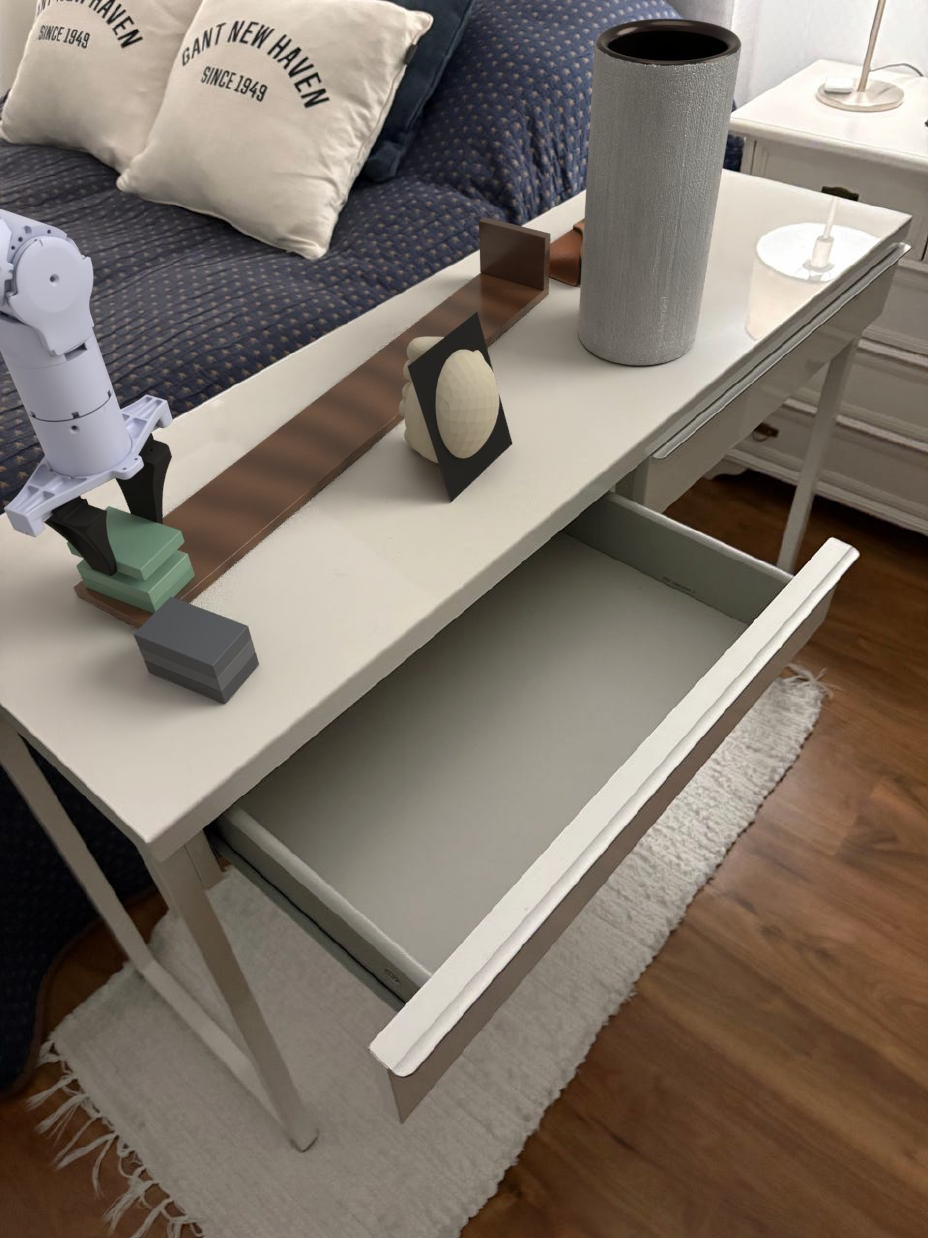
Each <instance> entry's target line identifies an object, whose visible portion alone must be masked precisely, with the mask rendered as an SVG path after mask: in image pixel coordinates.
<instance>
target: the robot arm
mask: <svg viewBox="0 0 928 1238" xmlns="http://www.w3.org/2000/svg"><path fill="white" fill-rule="evenodd" d="M93 287H94V267H93V263H92V259H91V257H90V256H86V255H83V254H81V252H80V250H79V247H78V246H77V244H76V243H75V241H74V240H73V239H72V238H70V237H68V234H67V232H65V231H63V230H62V229H59V228H58V227H56V226H53V225H50V224H48V223H47V224H46V223H43V222H41V221H38V220H36V219H32V218H29V217H26V216H23V215H20V214H17V213H14V212H11V211H9V210H5V209H3V208H0V353H1V356H2V359H3V361H4V363H5V365H6V368H7V370H8V372H9V375H10V377H11V379H12V382H13V383H14V387H15V388H16V391H17V393H18V396H19V397H20V400H21V402H22V405H23V407H24V409H25V412H26V414H27V417H28V419H29V421H30V423H31V426H32V428H33V430H34V432H35V435H36V437H37V440H38V442H39V444H40V447H41V449H42V452H43V453H44V454H43V455H44V456H43V458H42V459H41V460H40V462H39V464H38V465H37V466H36V468H35V470H34V471H33V472H32V474H31V475H30V476H29V478H28V479H27V481H26V483H25V484H24V486H23V487H22V489H21V490H20V491H19V492H18V494H17V495H16V496H15V497H14V498H13V499H12V500H11V501H10V502H9V503H8V504H6V506H5V507H4V508H3V510H4V512H5V514H6V517H7V519H8V520H9V523H10V524H11V526H12V528H13V531H17V532H19V533H21V534H24V535H26V536H30V537H33V538H37V537H38V536H40V535H41V534H43V532H44V531H45V530H46V526H45V525H47V526H48V527H49V528H51V529H52V530H54V531H55V532H56V533H58V534H59V535H60V536H61V537H62V538H64V540H66V542H69V543H70V544H71V545H72V546H73V547H74V548H75V549H76V550H77V551H78V552H79V553H80V554H81V556H82V557H83V558H82V559H85V561H86V562H87V563H88V564H89V566H90V567H91V568H92V570H95V571H98V572H100V573H103V574H106V575H108V576H113V575H114V574H115V573H116V572H117V565H116V559H115V556H114V553H113V551H112V548H111V546H110V543H109V539H108V534H107V525H106V518H107V511H106V510H105V509H103V508H100V507H97V506H94V505H91V504H90V503H89V502H88V499H87V498H82V495H85V494H87V493H88V492H91V491H92V490H94V489H96V488H98V487H100V486H102V485H104V484H107V483H109V482H110V481H113V480H114V479H115V481H116V482H117V484H118V486H119V489H120V490H121V493H122V495H123V497H124V500H125V502H126V505H127V508H128V510H129V513H131V514H133V515H136V516H139V517H142V518H145V519H147V520H150V521H153V522H156V523H159V524H162V525H163V518H164V516H163V515H164V514H163V513H164V512H163V511H164V509H163V507H164V505H163V502H164V487H165V481H166V477H167V473H168V469H169V466H170V463H171V461H172V458H173V455H172V451H171V448H170V446H169V444H167V443H165V442H163V441H160V440H157V439H155V437H154V435H153V432H154V431H155V430H156V429H157V428H160V429H166V428H168V427H169V426H170V425H171V424H172V423H174V419H173V416H172V412H171V410H170V407H169V403H168V400H166V399H163V398H160V397H156V396H153V395H149V394H145V395H144V396H142V397H141V398H139V399H138V400H137V401H134V402H133V403H131V404H129V405H127V406H125V407H123V408H120V405H119V402H118V398H117V396H116V393H115V390H114V387H113V383H112V381H111V378H110V375H109V372H108V369H107V366H106V364H105V361H104V358H103V355H102V352H101V349H100V346H99V343H98V340H97V337H96V335H95V332H94V329H93V328H94V327H95V323H94V319H93V318H92V317H93V316H92V315H91V310H90V299H91V295H92V291H93Z"/></svg>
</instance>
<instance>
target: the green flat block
mask: <svg viewBox="0 0 928 1238" xmlns="http://www.w3.org/2000/svg"><path fill="white" fill-rule="evenodd" d="M75 566H76V569H77V571H78V573H79V576H80V578H81V581H82V580H83V583H84V585H85V587H86V588H89V589H91V590H94V591H97V592H99V593H102V594H104V595H107V596H109V597H112V598H115V599H117V600H120V601H122V602H125V603H127V604H130V605H133V606H135V607H138V608H140V609H143V610H146V611H148V612H151V613H153V614H154V613H155V612H156V611H157V610H158V609H159V608H160V607H161V606H162V605H163V604H164V603H165V602H166V601H167V600H168V599H169V598H170V597H173V598H174V597H175V596H176V595H177V594H178V593H179V591H180V590H181V589H182V588H183V587H184V586H185V585H186V584H187V583H188V582H189V581H190V580H191V579H192V578H193V577H194V576H195V574H194V571H193V568H192V565H191V562H190V559H189V556H188V554H187V553H184V552H181V551H178V550H176V551H175V552H174V553H173V554H172V555H171V556H170V557H169V558H168V559H167V560H166V561H165V562H164V563H163V564H162V565H161V566H160V567H159V568H158V569H157V570H156V571H155V572H154V573H153V574H152V575H151V576H150V577H148V578H147V579H146V580H145V581H142V580H140V579H137V578H134V577H132V576H129V575H126V574H124V573H121V572H118V571H117V572H116V573H115V574H114V575H113V576H108V575H106V574H103V573H100V572H98V571H95V570H92V568H91V567H90V566H89V564H88V563H87V562H86V561H85V559H84V558H82V559H81V560H80V561H79V562H78V563H77V564H76V565H75Z"/></svg>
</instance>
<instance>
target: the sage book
mask: <svg viewBox="0 0 928 1238" xmlns="http://www.w3.org/2000/svg"><path fill="white" fill-rule="evenodd" d="M104 510H106V511H107V518H106V525H107V534H108V539H109V543H110V546H111V548H112V551H113V553H114V556H115V559H116V565H117V571H118V572H121V573H124V574H126V575H129V576H132V577H134V578H137V579H140V580H142V581H145V580H146V579H147V578H148V577H150V576H151V575H152V574H153V573H154V572H155V571H156V570H157V569H158V568H159V567H160V566H161V565H162V564H163V563H164V562H165V561H166V560H167V559H168V558H169V557H170V556H171V555H172V554H173V553H174V552H175V551H176V550H177V549H178V548H179V547H180V546H181V545H182V544H183V543H184V539H183V536H182V533H181V531H180V530H177V529H174V528H171V527H168V526H165V525H162V524H159V523H156V522H153V521H150V520H147V519H145V518H142V517H139V516H136V515H133V514H131V513H130V512H128V511H125V510H122V509H119V508H116V507H113V506H110V505H108V506H107V507H106V508H104ZM66 545H67V547H68V550H69V552H70V554H71V555H72V556H73V555H74V556H76V557H78V558H81V559H84V558H83V557H82V556H81V554H80V553H79V552H78V551H77V550H76V549H75V548H74V547H73V546H72V545H71V544H70V543H69V542H68V541H66Z"/></svg>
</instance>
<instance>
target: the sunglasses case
mask: <svg viewBox="0 0 928 1238" xmlns="http://www.w3.org/2000/svg"><path fill="white" fill-rule="evenodd" d="M583 235H584V218H582V219H581V220H579V221H577V222H575V223H574V224H573V225H572V229H570V230H568V231H567V232H565V233H564V234H562V235H561V236H559V237H558V238H556V239H555V240H553V241H552V242H550V266H549V279H553V280H556V281H557V282H561V283H563V284H566V285H568V286H572V287H577V286H578V287H579V286H581V269H582V252H583Z"/></svg>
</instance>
